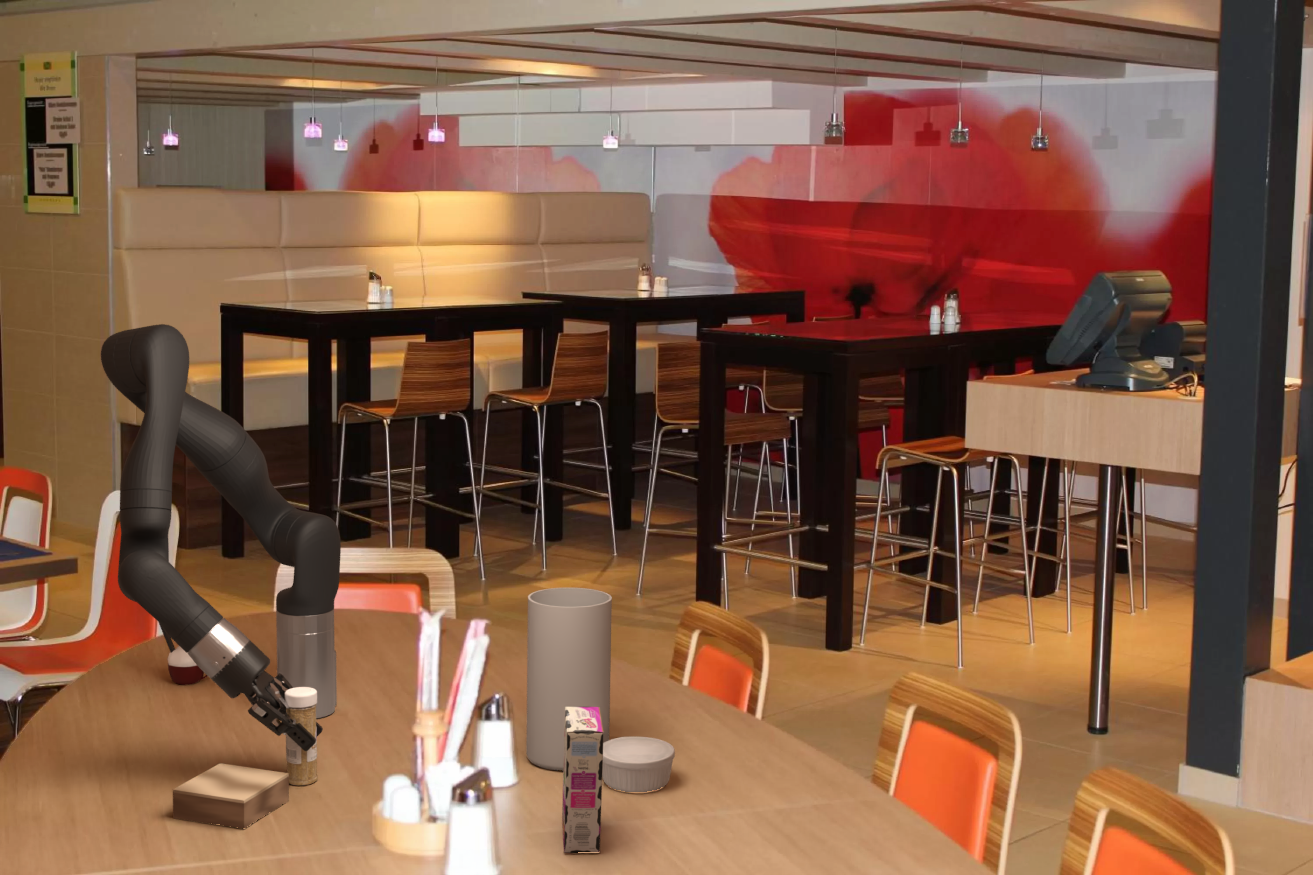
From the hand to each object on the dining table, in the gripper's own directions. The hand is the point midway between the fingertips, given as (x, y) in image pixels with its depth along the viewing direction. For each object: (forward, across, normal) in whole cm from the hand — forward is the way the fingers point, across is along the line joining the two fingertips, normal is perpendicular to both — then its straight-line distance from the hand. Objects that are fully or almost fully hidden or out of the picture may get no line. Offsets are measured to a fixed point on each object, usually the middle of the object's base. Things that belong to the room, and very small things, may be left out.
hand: (314, 739), depth 222 cm
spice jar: (+3, 0, +6) cm, 7 cm away
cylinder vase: (+30, +11, -21) cm, 38 cm away
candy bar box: (+32, -20, -23) cm, 44 cm away
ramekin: (+37, +1, -28) cm, 47 cm away
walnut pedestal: (-2, -11, +11) cm, 16 cm away
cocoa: (-18, +48, +27) cm, 58 cm away
